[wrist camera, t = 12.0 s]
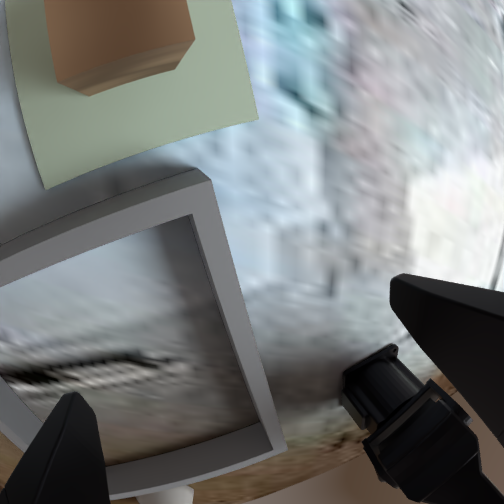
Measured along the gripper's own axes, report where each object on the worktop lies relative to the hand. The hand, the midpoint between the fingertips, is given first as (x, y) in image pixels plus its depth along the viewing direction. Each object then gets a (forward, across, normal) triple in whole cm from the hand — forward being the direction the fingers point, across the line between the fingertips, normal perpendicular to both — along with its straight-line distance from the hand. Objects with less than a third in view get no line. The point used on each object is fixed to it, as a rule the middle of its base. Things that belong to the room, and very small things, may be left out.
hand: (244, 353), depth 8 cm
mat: (+11, +1, -10) cm, 15 cm away
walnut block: (+11, +1, -10) cm, 15 cm away
